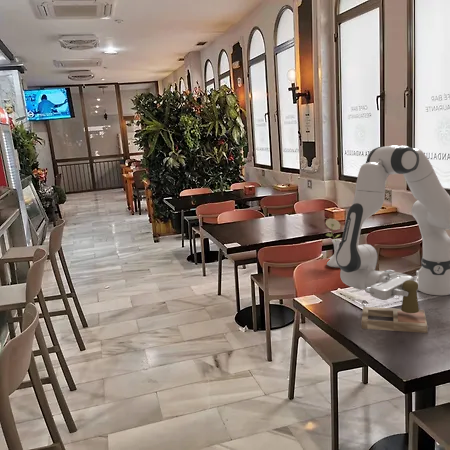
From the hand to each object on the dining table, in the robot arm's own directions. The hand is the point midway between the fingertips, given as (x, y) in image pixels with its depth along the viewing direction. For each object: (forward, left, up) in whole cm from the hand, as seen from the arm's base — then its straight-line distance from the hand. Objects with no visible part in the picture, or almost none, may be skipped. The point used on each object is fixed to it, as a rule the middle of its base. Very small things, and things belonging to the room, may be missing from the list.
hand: (412, 291), depth 162 cm
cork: (0, -1, -7) cm, 7 cm away
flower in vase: (-66, -34, -13) cm, 75 cm away
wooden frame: (-1, -7, -13) cm, 14 cm away
